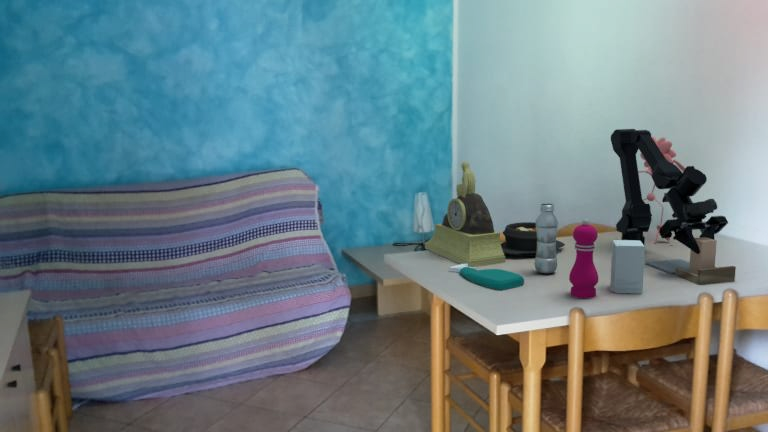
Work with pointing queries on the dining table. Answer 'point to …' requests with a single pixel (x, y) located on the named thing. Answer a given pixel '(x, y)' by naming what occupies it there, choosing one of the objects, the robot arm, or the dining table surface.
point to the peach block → (703, 255)
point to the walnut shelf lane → (709, 275)
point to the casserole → (522, 239)
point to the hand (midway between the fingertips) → (706, 252)
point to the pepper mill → (584, 262)
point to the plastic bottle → (546, 239)
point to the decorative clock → (467, 228)
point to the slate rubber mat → (670, 265)
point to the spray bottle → (489, 277)
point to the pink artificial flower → (667, 153)
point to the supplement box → (627, 266)
